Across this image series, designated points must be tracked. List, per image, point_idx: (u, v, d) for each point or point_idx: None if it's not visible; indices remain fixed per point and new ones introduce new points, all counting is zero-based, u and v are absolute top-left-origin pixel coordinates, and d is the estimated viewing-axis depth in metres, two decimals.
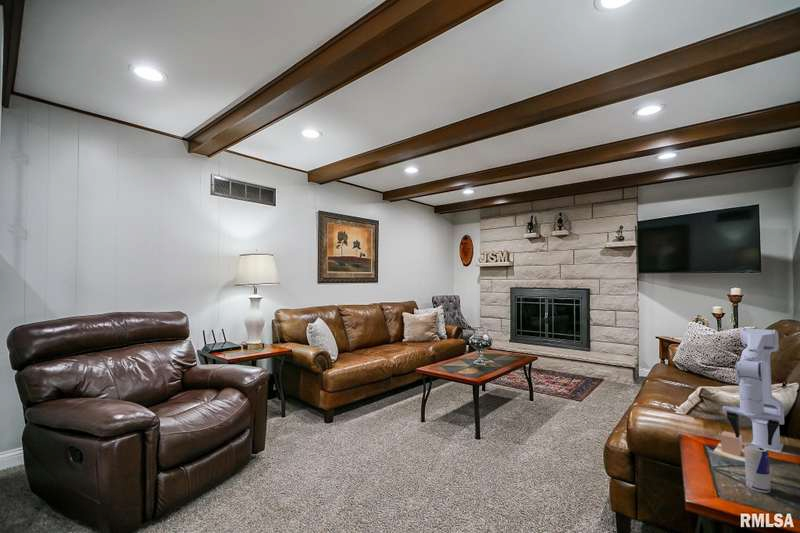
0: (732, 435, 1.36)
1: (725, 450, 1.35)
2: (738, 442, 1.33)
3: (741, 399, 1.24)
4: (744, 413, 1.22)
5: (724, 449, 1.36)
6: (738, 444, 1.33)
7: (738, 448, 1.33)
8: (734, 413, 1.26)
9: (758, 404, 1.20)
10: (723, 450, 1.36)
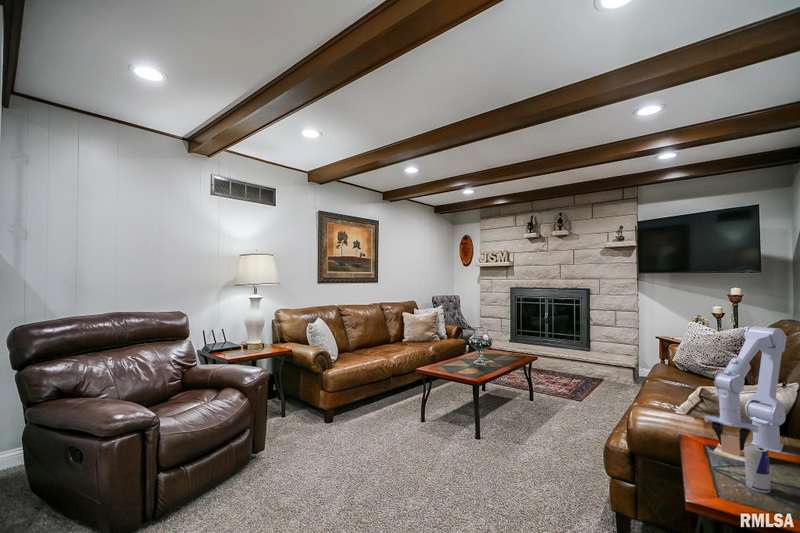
0: (732, 435, 1.36)
1: (725, 450, 1.35)
2: (738, 442, 1.33)
3: (721, 409, 1.37)
4: (723, 422, 1.36)
5: (724, 449, 1.36)
6: (738, 444, 1.33)
7: (738, 448, 1.33)
8: (715, 422, 1.39)
9: (736, 414, 1.34)
10: (723, 450, 1.36)
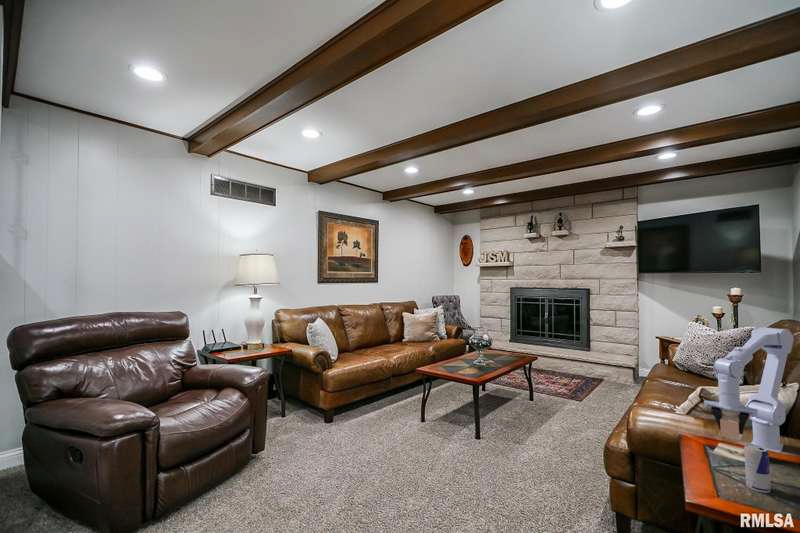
0: (731, 419, 1.36)
1: (724, 435, 1.36)
2: (737, 426, 1.33)
3: (720, 394, 1.37)
4: (722, 406, 1.36)
5: (723, 433, 1.36)
6: (737, 428, 1.33)
7: (737, 432, 1.33)
8: (714, 407, 1.39)
9: (735, 398, 1.34)
10: (722, 435, 1.36)
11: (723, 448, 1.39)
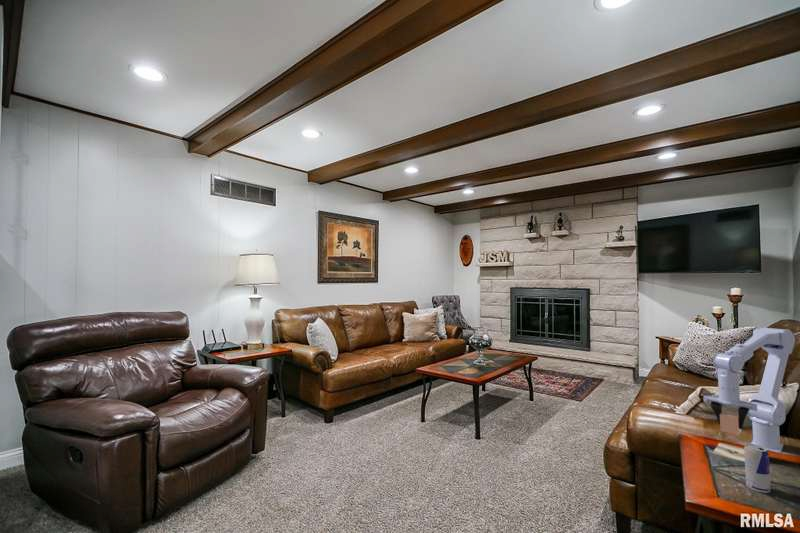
0: (731, 414, 1.36)
1: (724, 430, 1.36)
2: (737, 421, 1.33)
3: (720, 389, 1.37)
4: (722, 401, 1.36)
5: (723, 428, 1.36)
6: (737, 423, 1.33)
7: (737, 427, 1.33)
8: (714, 402, 1.40)
9: (735, 393, 1.34)
10: (722, 429, 1.36)
11: (723, 448, 1.39)
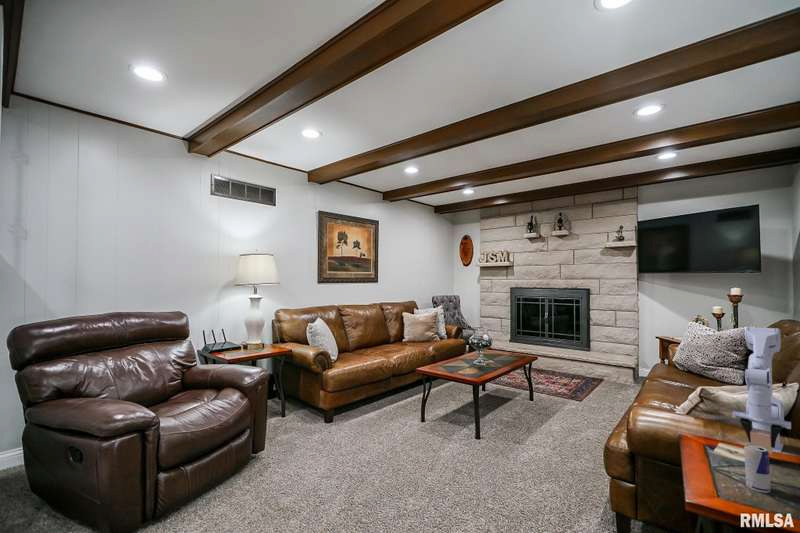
0: (762, 432, 1.30)
1: None
2: (769, 439, 1.27)
3: (750, 405, 1.31)
4: (753, 418, 1.30)
5: None
6: (769, 441, 1.27)
7: (769, 446, 1.27)
8: (743, 418, 1.33)
9: (767, 410, 1.28)
10: None
11: (723, 448, 1.39)
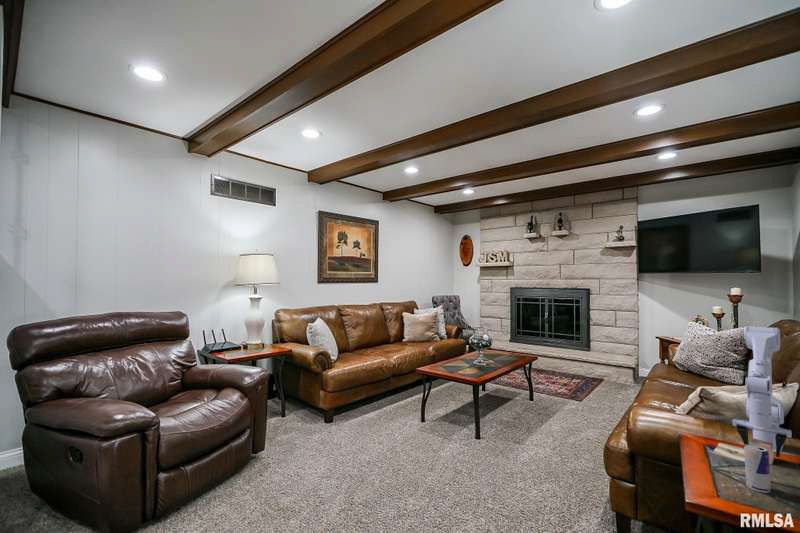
0: (763, 443, 1.29)
1: None
2: (770, 450, 1.27)
3: (750, 413, 1.31)
4: (753, 426, 1.30)
5: None
6: (770, 453, 1.27)
7: (770, 457, 1.27)
8: (744, 426, 1.33)
9: (767, 418, 1.28)
10: None
11: (723, 448, 1.39)
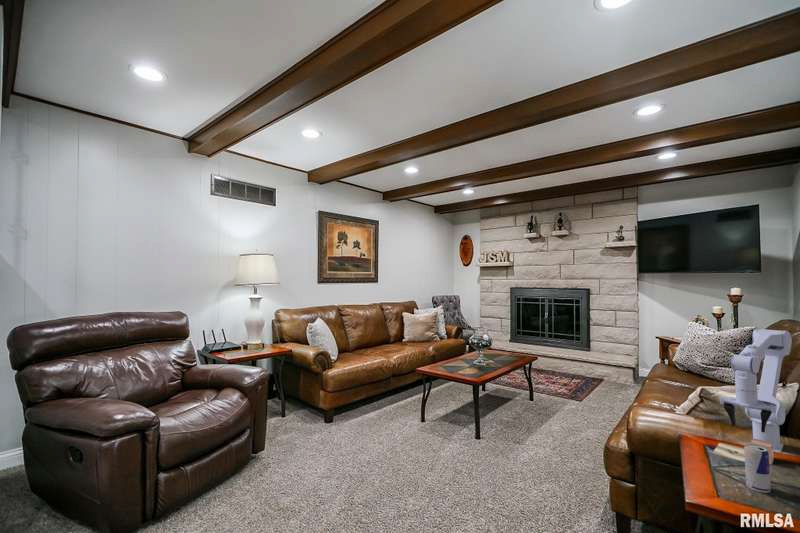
0: (763, 443, 1.29)
1: None
2: (770, 450, 1.27)
3: (737, 391, 1.35)
4: (740, 403, 1.34)
5: None
6: (770, 453, 1.27)
7: (770, 457, 1.27)
8: (730, 404, 1.37)
9: (753, 395, 1.32)
10: None
11: (723, 448, 1.39)
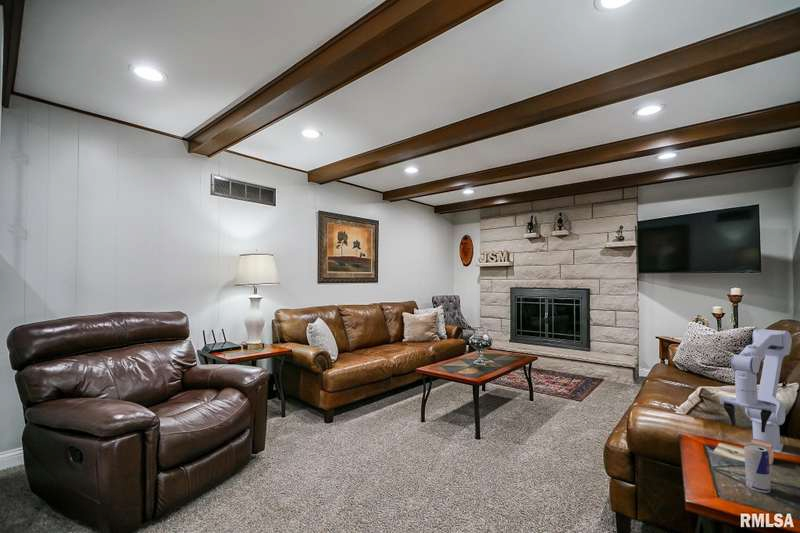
0: (763, 443, 1.29)
1: None
2: (770, 450, 1.27)
3: (737, 391, 1.35)
4: (740, 403, 1.34)
5: None
6: (770, 453, 1.27)
7: (770, 457, 1.27)
8: (730, 404, 1.37)
9: (753, 395, 1.32)
10: None
11: (723, 448, 1.39)
